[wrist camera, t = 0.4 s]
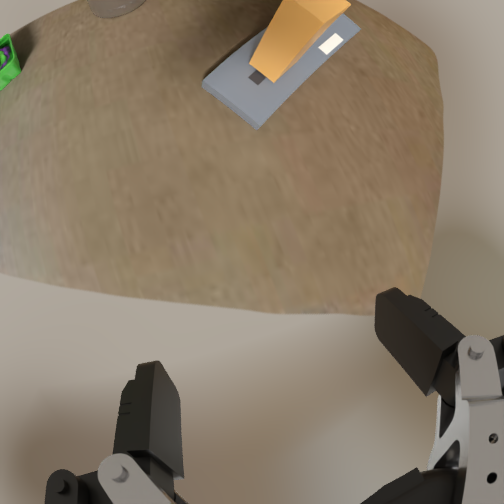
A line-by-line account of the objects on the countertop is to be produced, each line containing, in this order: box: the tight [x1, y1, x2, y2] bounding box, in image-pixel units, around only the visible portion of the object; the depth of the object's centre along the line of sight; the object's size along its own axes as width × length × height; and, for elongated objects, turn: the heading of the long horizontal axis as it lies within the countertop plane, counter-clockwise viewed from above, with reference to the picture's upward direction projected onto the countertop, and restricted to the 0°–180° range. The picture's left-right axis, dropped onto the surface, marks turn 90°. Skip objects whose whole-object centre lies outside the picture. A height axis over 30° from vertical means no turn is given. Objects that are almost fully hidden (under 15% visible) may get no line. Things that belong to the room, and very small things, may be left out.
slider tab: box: [249, 0, 351, 83], centre depth 22 cm, size 5×4×14 cm
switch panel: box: [202, 13, 361, 130], centre depth 30 cm, size 26×9×2 cm, turn 140°
